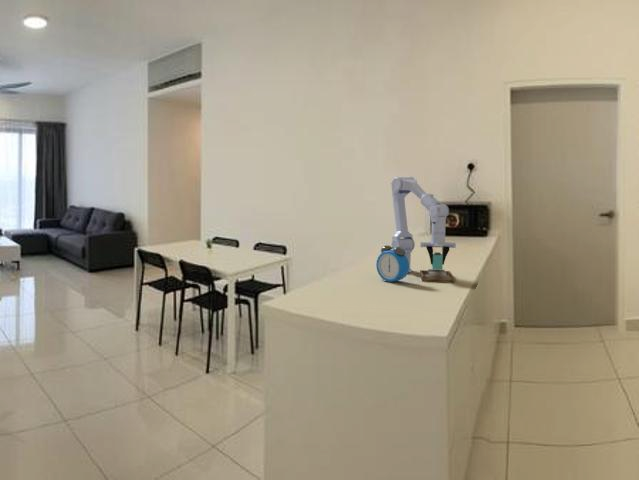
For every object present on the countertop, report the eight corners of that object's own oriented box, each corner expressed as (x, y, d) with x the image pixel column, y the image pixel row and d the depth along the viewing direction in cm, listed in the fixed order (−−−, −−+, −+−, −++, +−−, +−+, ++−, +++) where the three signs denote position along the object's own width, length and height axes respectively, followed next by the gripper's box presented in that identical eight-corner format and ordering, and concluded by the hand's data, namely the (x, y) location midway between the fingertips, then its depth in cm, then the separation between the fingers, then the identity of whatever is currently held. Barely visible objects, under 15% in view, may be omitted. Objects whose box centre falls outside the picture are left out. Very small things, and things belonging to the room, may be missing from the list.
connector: (432, 269, 193) (433, 253, 192) (431, 267, 197) (432, 252, 196) (442, 269, 193) (442, 253, 192) (441, 267, 197) (441, 252, 196)
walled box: (422, 281, 192) (422, 272, 191) (419, 275, 204) (420, 266, 204) (453, 282, 190) (454, 273, 189) (449, 276, 203) (449, 267, 202)
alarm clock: (375, 279, 195) (376, 245, 193) (384, 277, 199) (385, 243, 197) (400, 284, 185) (401, 248, 183) (409, 282, 190) (410, 247, 188)
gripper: (421, 233, 190) (420, 265, 191) (457, 233, 188) (456, 266, 189) (420, 231, 197) (419, 262, 198) (454, 232, 194) (453, 263, 196)
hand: (437, 264), depth 194 cm, fingers closed on connector, 4 cm apart
